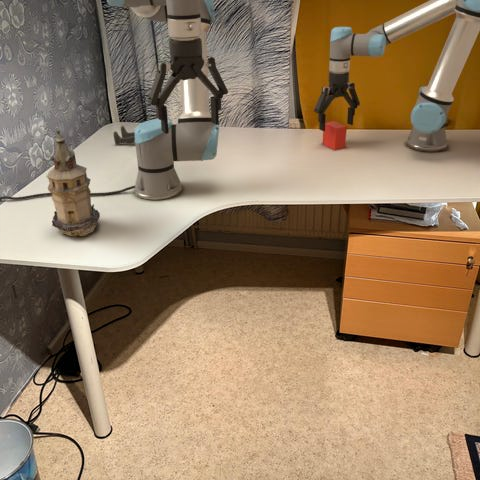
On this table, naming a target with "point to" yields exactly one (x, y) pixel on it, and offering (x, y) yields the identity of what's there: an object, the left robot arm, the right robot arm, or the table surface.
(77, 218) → the miniature building
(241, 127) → the table surface
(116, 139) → the toy
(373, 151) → the table surface
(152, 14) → the left robot arm
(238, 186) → the table surface
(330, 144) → the block
